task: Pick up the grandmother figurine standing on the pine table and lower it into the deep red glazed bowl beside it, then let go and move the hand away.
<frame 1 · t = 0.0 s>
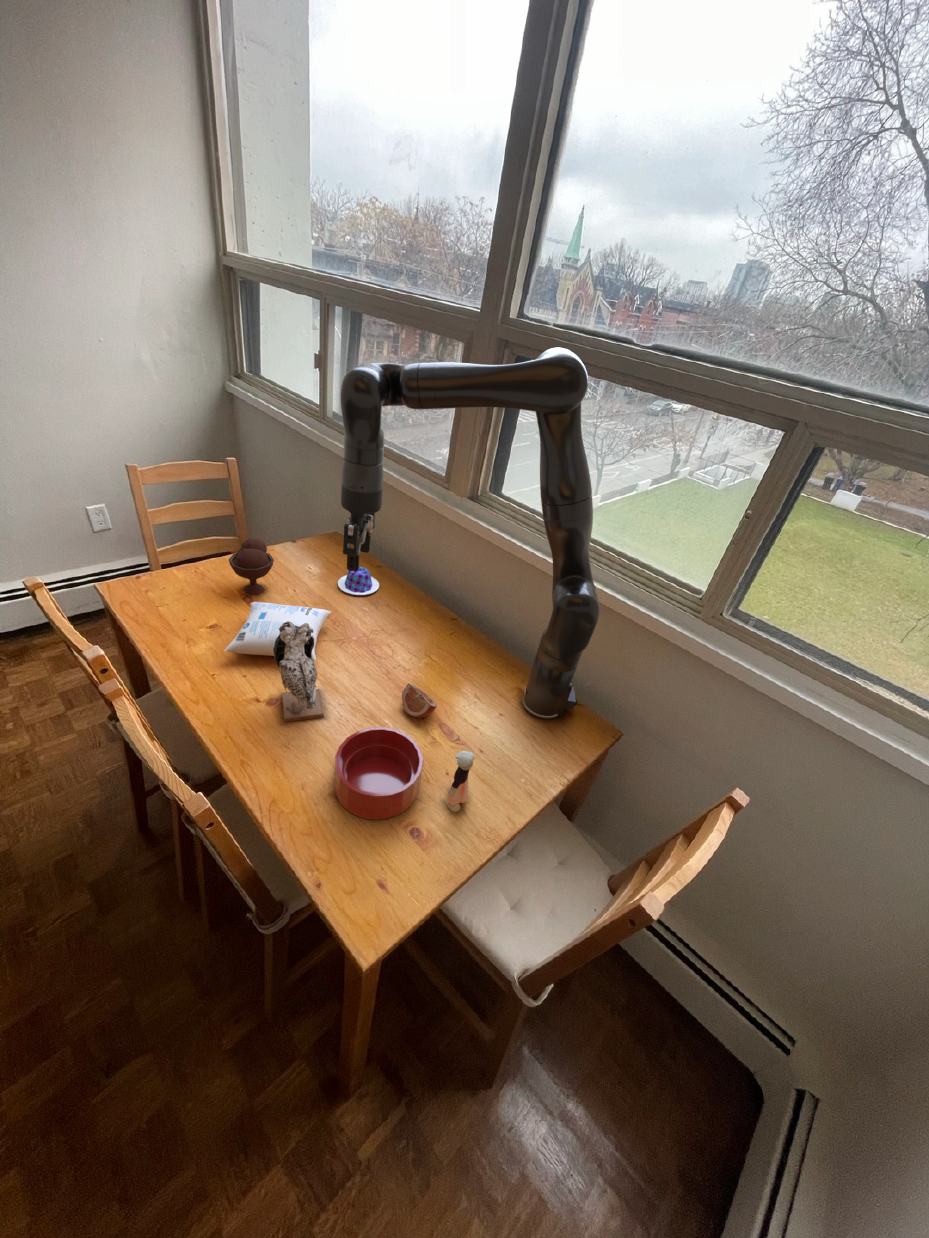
hand: (358, 560, 103), 29 cm above the table, tool pointing down, fingers open, 8 cm apart
pudding: (358, 586, 150), on the table
grandmother figurine: (456, 799, 94), on the table
pouch: (282, 643, 123), on the table
red bowl: (377, 784, 94), on the table
ice cream bowl: (253, 590, 140), on the table
stuffed bird: (302, 706, 108), on the table
fruit slice: (417, 710, 112), on the table
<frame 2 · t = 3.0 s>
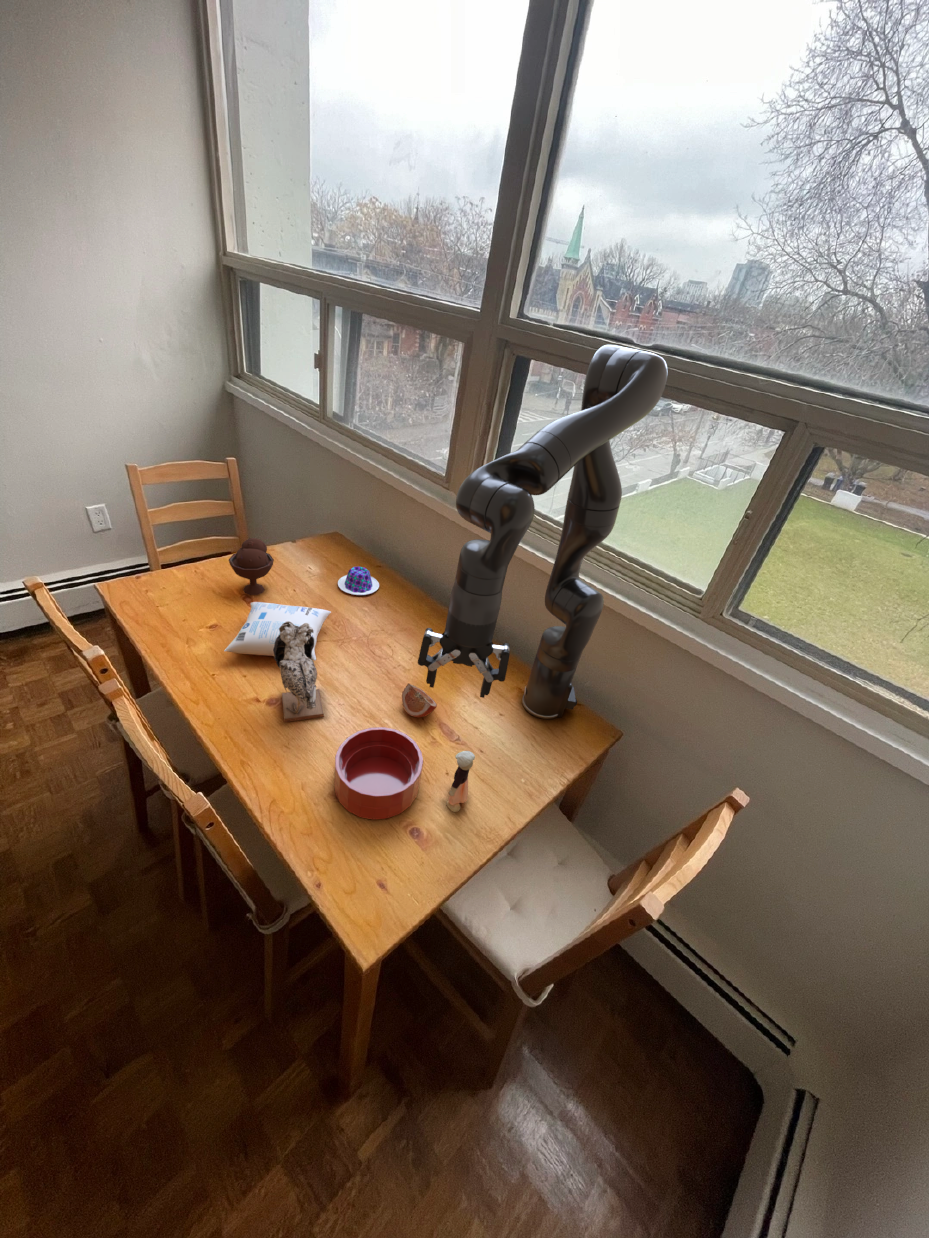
hand: (457, 689, 85), 23 cm above the table, tool pointing down, fingers open, 8 cm apart
nothing on the table moved.
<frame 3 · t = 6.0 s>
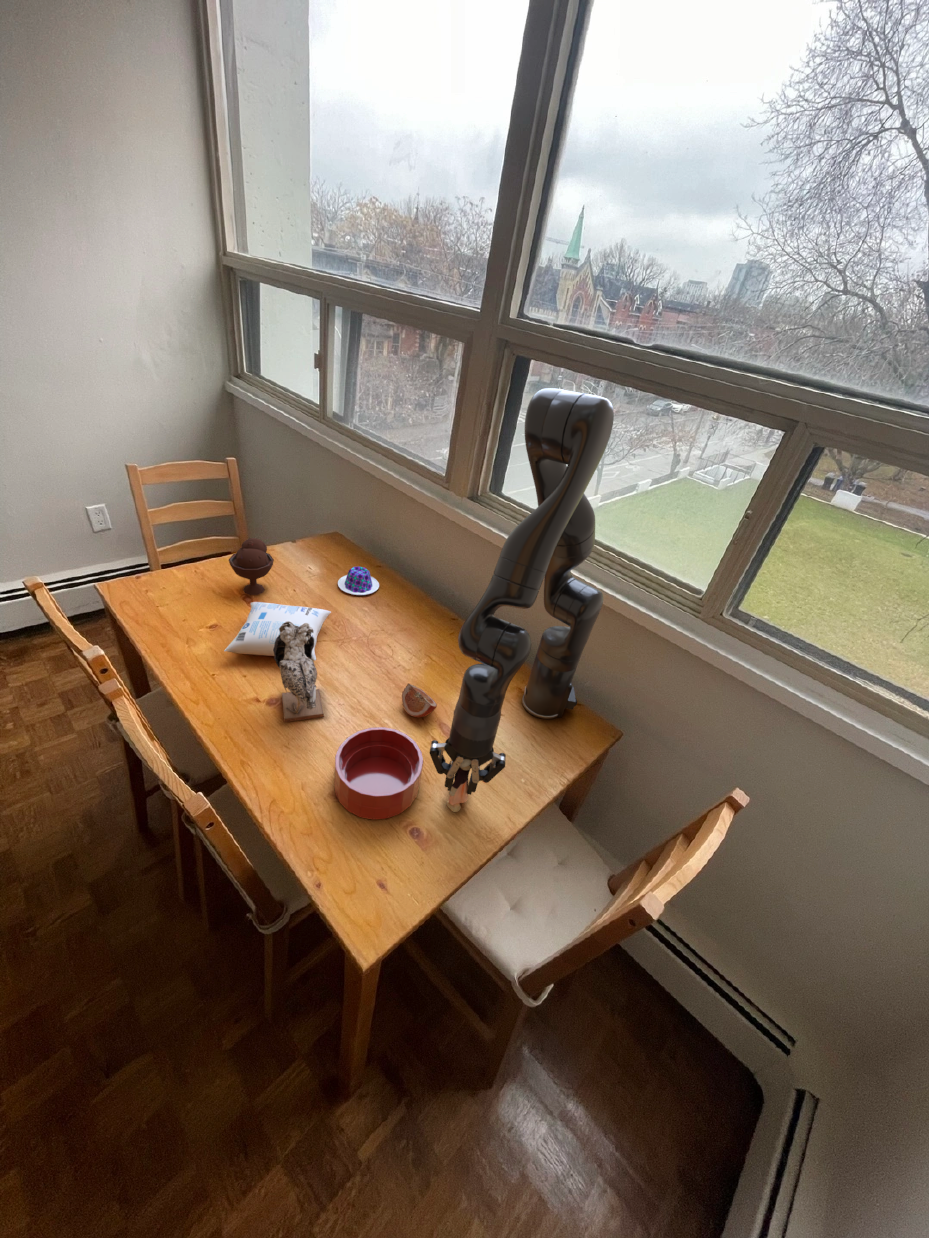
hand: (459, 788, 93), 3 cm above the table, tool pointing down, fingers closed on grandmother figurine, 3 cm apart
grandmother figurine: (456, 799, 94), on the table, touching gripper
everything else where it was.
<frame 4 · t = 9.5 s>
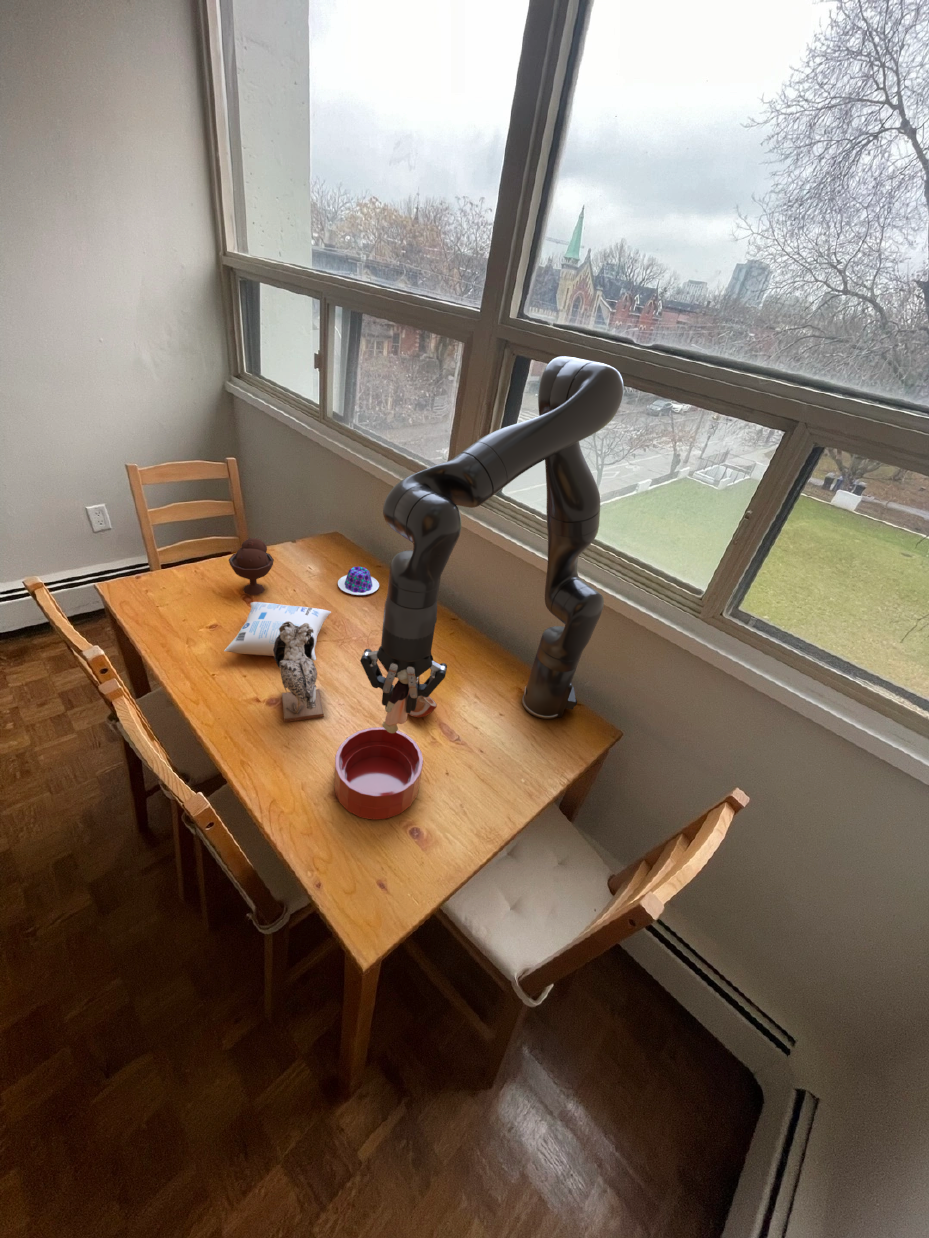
hand: (399, 707, 83), 20 cm above the table, tool pointing down, fingers closed on grandmother figurine, 3 cm apart
grandmother figurine: (394, 721, 85), point 17 cm above the table, touching gripper
everything else where it was.
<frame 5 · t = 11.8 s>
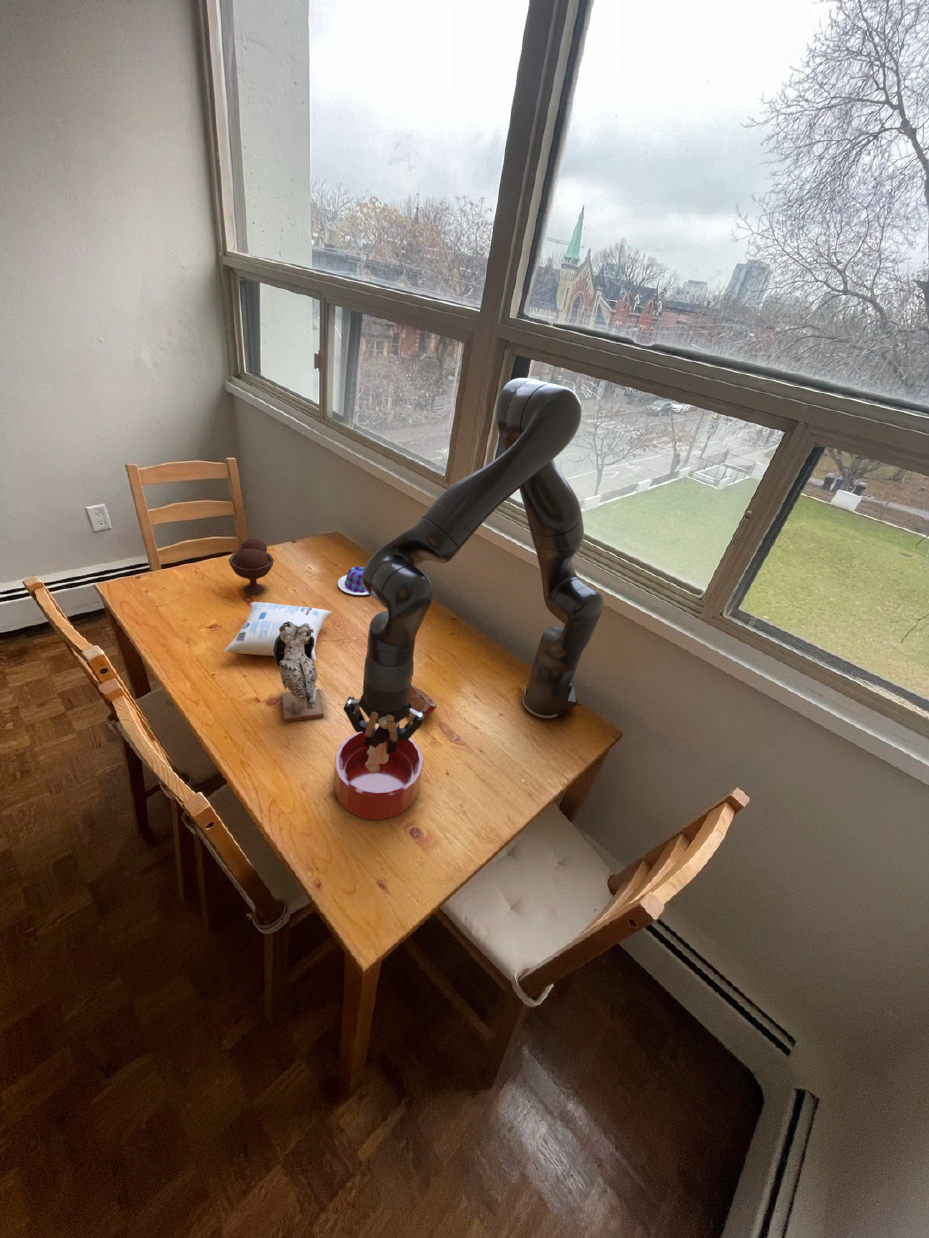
hand: (380, 748, 89), 10 cm above the table, tool pointing down, fingers closed on grandmother figurine, 3 cm apart
grandmother figurine: (376, 761, 91), point 6 cm above the table, touching gripper
everything else where it was.
when the fingers open (4 cm above the table, at t = 13.4 s): grandmother figurine stays where it is, resting on red bowl.
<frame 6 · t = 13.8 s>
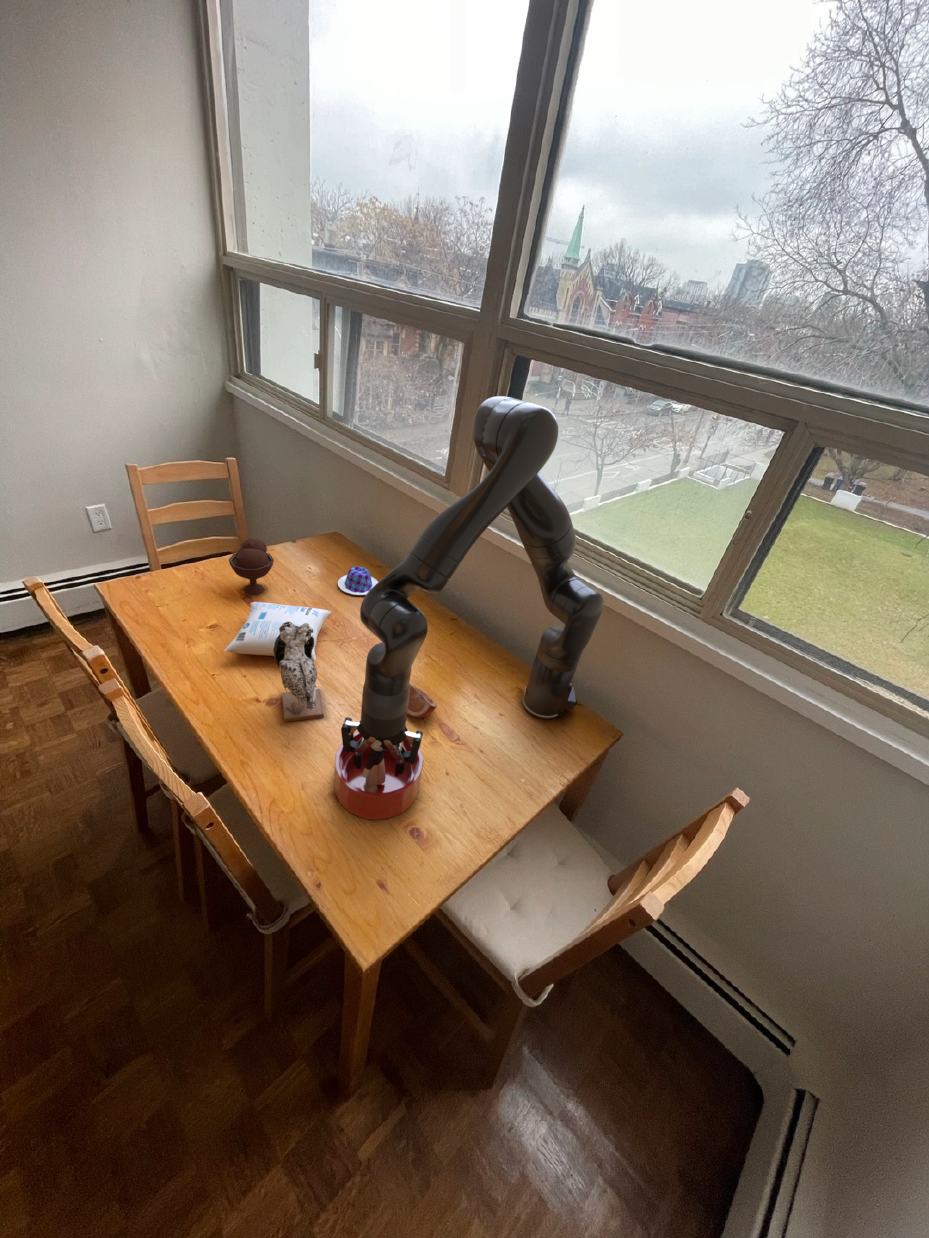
hand: (378, 768, 92), 4 cm above the table, tool pointing down, fingers open, 6 cm apart
grandmother figurine: (374, 782, 94), resting on red bowl
everything else where it was.
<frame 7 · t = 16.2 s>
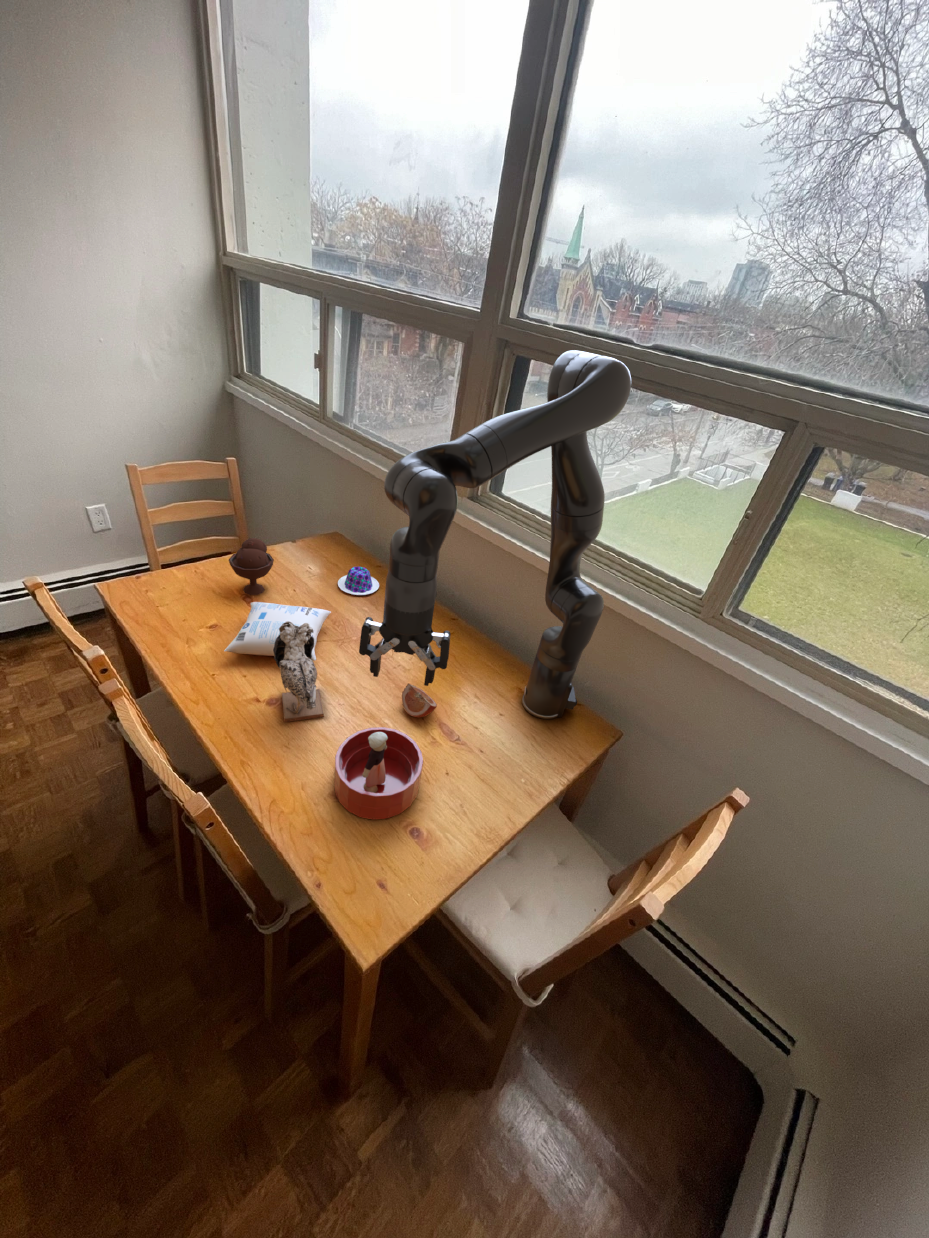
hand: (401, 678, 85), 23 cm above the table, tool pointing down, fingers open, 8 cm apart
nothing on the table moved.
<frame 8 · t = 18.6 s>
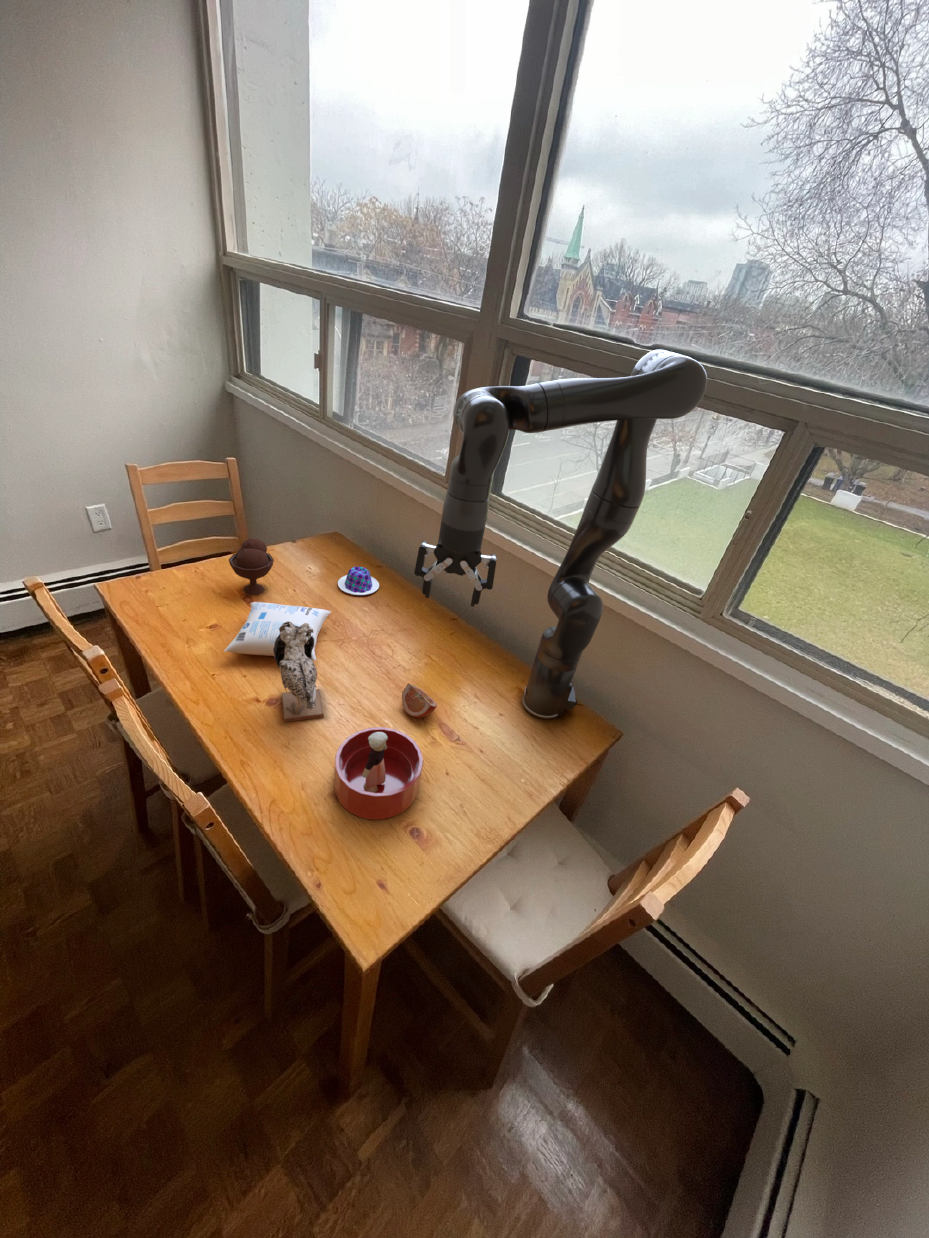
hand: (450, 600, 94), 30 cm above the table, tool pointing down, fingers open, 8 cm apart
nothing on the table moved.
at the end: grandmother figurine inside the target area in the red bowl (0.5 cm from its centre), point 0.4 cm above the red bowl's base; the gripper is holding nothing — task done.
